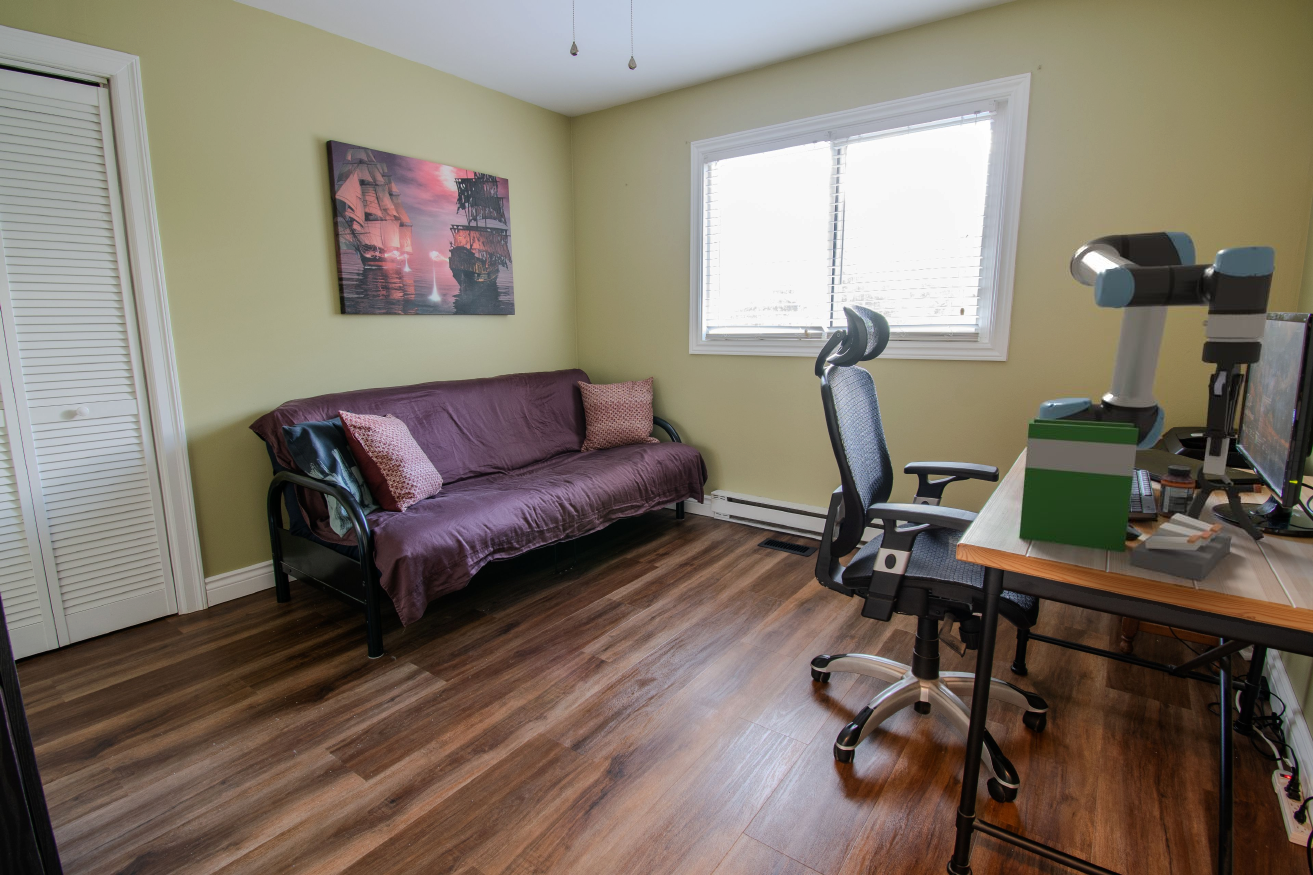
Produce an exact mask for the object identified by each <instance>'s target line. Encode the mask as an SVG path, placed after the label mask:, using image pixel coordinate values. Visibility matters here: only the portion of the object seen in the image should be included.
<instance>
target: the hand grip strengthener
mask: <svg viewBox="0 0 1313 875" xmlns="http://www.w3.org/2000/svg"><path fill="white" fill-rule="evenodd" d="M1203 468H1204V463H1203V464H1201V466H1199V468H1198V469H1197V472H1196V481H1197V482H1198V483H1199V485H1200V486H1201V489H1200V490H1197V492H1196V493H1195V494H1194V497H1193V500H1192V502H1191V504H1190V506H1189V508H1188V511H1187V513H1186V516H1188V517H1190V518H1193V519H1196V520H1199V517H1200V515H1201V513H1202V511H1203V509H1204V507H1205V505H1206V502H1207V501H1208V499H1209V498H1210V495H1211V494H1212V493H1213V492H1215V491H1223V492H1225V494H1226V497H1227V500H1228V501H1227V502H1228V505H1229V508H1230V511H1231V513H1232V514H1233V516H1234V518H1235V519H1236V522H1238V524H1239V525H1240V527H1241V528H1242V529H1243V530H1244V531H1245V533H1247V534H1248V535H1249V537H1251V538H1252V539H1253V540H1254V541H1256V542H1259V541H1260V540H1262V539H1264V538H1265V536H1264V533H1263V531H1261V530H1260V529H1259V528H1258V527H1257V526H1256V525H1255V524H1254V523H1253V521H1252V520H1251V519H1250V517H1248V514H1247V513H1246V512H1245V510H1244V508H1243V506H1242V497H1241V495H1240V494H1243V493H1249V494H1252V493H1253V494H1262V485H1261V484H1248V485H1247V484H1246V485H1245V484H1234V482H1233V481H1231V479H1230V478H1229V476H1227V475H1226V473H1224V474H1223V475H1218V474H1216V475H1217V476H1218V477H1219V478H1220V479H1221V480H1222V481H1223V482H1224V484H1222V483H1221V484H1219V483H1213V482H1211V481H1208V480H1207V478H1206V477H1205V473H1203ZM1228 483H1229V484H1228Z"/></svg>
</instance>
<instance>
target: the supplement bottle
mask: <svg viewBox="0 0 1313 875" xmlns="http://www.w3.org/2000/svg"><path fill="white" fill-rule="evenodd" d="M1167 467H1168V468H1167V473H1166V474H1163V476H1161V479H1160V486H1159V496H1158V505H1157V513H1158V514H1159V515H1160V516H1162V517H1166V518H1170V519H1171V517H1172V516H1174V515H1175V514H1177V513H1179V514H1182V515H1185V516H1186V513H1187V511H1188V508H1189V506H1190V504H1191V502H1192V500H1193V498H1194V496H1195V486H1196V480H1195V478H1194V477H1192V476H1191V474H1192V468H1191V467H1189V466H1184V465H1176V464H1174V465H1169V466H1167Z"/></svg>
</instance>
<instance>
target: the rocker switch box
mask: <svg viewBox="0 0 1313 875" xmlns="http://www.w3.org/2000/svg"><path fill="white" fill-rule="evenodd" d="M1157 532H1158V530H1157V531H1155V532H1154V533H1152V534H1151V535H1150V536H1149V537H1147V538H1146V539H1144V540H1143V541H1141V543H1139V544H1138V545H1136V546H1134V547H1133V548H1132V550H1131V557H1130V566H1133V567H1138V568H1142V569H1146V570H1151V571H1155V572H1160V573H1163V574H1168V575H1173V576H1177V577H1181V578H1186V579H1191V580H1195V581H1198V582H1202V581H1203V580H1204V579H1205V577H1207V575H1208V574H1209V573H1210V572H1212V570H1213V569H1214V568H1215V567H1217V565H1218V564H1219V563H1220V562H1221V561H1222V560H1223V559H1224V558H1225V557H1226V555H1228V553H1230V550H1231V544H1232V538H1233V536H1232V535H1229V534H1228V535H1226V534H1222V533H1219V534H1218V535H1217V536H1216V537H1215V538H1214V539H1213V538H1211V541H1210V542H1209V543H1207V544H1206V545H1205V546H1202V545H1201V546H1200V547H1199V548H1197V549H1196V550H1180V549H1157V548H1146V543H1145V541H1147V540H1148V539H1149V538H1151V537H1152V536H1163V537H1170V536H1166V535H1163V534H1159V533H1157Z"/></svg>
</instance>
